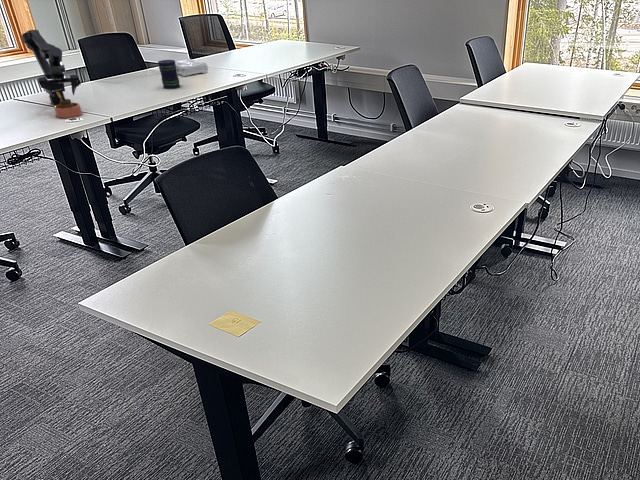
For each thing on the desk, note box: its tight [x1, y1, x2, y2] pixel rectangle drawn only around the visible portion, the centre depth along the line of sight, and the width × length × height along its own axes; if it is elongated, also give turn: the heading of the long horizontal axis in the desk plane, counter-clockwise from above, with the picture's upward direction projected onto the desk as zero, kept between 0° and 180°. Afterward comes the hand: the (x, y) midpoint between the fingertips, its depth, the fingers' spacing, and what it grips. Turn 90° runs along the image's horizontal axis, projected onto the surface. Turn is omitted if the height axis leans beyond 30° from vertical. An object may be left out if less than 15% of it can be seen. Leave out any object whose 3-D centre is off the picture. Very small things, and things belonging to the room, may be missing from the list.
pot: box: [53, 102, 83, 119], centre depth 294 cm, size 12×12×5 cm
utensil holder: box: [56, 90, 73, 108], centre depth 292 cm, size 6×6×12 cm
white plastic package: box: [174, 58, 209, 77], centre depth 383 cm, size 19×28×8 cm
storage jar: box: [157, 59, 181, 90], centre depth 344 cm, size 10×10×15 cm
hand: (63, 95), depth 291 cm, fingers open, 9 cm apart
